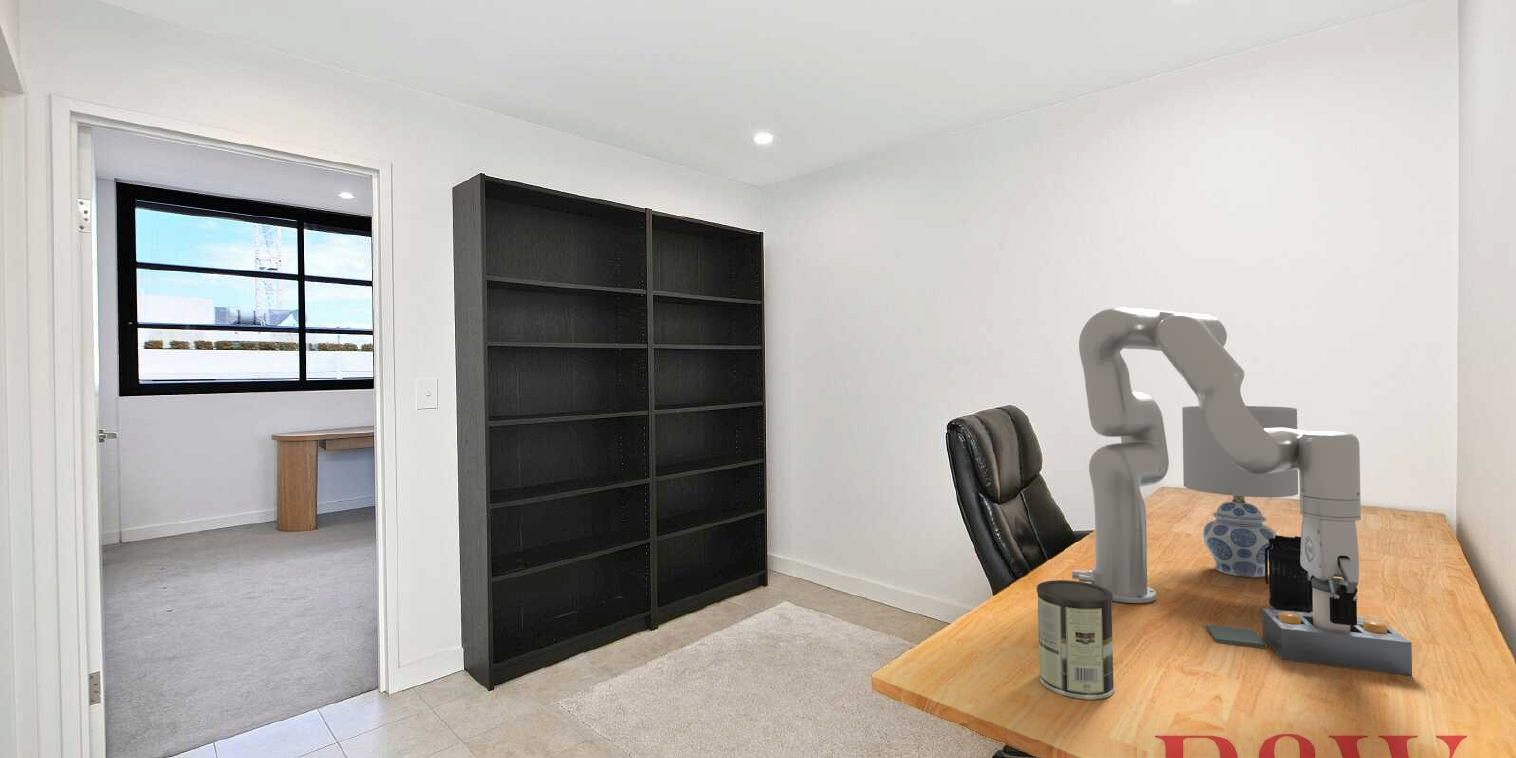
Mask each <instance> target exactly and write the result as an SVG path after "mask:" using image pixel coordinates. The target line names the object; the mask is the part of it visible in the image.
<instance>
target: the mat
mask: <svg viewBox="0 0 1516 758" xmlns="http://www.w3.org/2000/svg"><path fill="white" fill-rule="evenodd" d="M1205 627H1206V630H1207V631H1208V633H1209V634H1210V636H1211V637H1212V639H1213V640H1214V642H1215V643H1221V644H1229V645H1236V646H1237V645H1239V646H1245V647H1254V648H1261V649H1262V648H1263V649H1266V643H1265V641H1263V639H1261V637H1260V636H1259V635H1258V634H1257V632H1256V631H1255V630H1254V629H1253V628H1252V629H1249V628H1241V627H1234V626H1233V627H1232V626H1222V625H1216V624H1214V625H1213V624H1206V626H1205Z"/></svg>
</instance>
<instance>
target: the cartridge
mask: <svg viewBox="0 0 1516 758" xmlns="http://www.w3.org/2000/svg"><path fill="white" fill-rule="evenodd" d="M1340 586H1341V585H1340V584H1337V588H1338V589H1339V588H1340ZM1312 587H1313V612H1312V613H1313V626H1314V627H1315V628H1318V629H1327V630H1337V631H1346V632H1350V625H1342V624H1334V623H1332V622H1331V621H1330V598H1329V597H1333V596H1332V592H1331V588H1330V584H1329V580H1328V579H1326V581H1321V580H1319V579H1317V578H1316V577H1314V578H1312Z"/></svg>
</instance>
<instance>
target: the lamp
mask: <svg viewBox="0 0 1516 758" xmlns="http://www.w3.org/2000/svg"><path fill="white" fill-rule="evenodd" d="M1245 406H1246V407H1247V409H1248V410H1249V412H1250V413H1251V414H1252V415H1253V417H1254V418H1255V419H1256V420H1257V421H1258V423H1259V424H1260V425H1261V426H1262V427H1263V428H1264V429H1265V428H1290V429H1296V430H1298V408H1296V407H1286V406H1284V407H1283V406H1265V405H1263V406H1262V405H1261V406H1259V405H1257V406H1256V405H1245ZM1181 410H1182V462H1183V463H1182V464H1183V465H1182V468H1183V469H1182V470H1183V472H1182V473H1183V476H1182V477H1183V487H1185V488H1187V489H1189V490H1193V491H1198V492H1201V493H1206V494H1207V493H1208V494H1216V495H1223V496H1232V497H1233V498H1232V500H1231V501H1226V502H1223V503H1221V504H1220V505H1219V506H1218V507H1217V510H1216V511H1215V512H1213V513H1212V515H1211V516H1212V517H1214V518H1215V519H1214V520H1211V521H1209V522H1208V523H1206V524H1205V526H1204V528H1203V530H1202V540H1203V542H1204V545H1205V546H1206V549H1207V550H1208V552H1209V553H1210V555H1211V556H1212V558H1213V559H1214V561H1215V562H1214V563H1215V565H1214V569H1215V570H1216V571H1218V572H1219V573H1222V574H1226V575H1228V576H1234V577H1240V578H1241V577H1242V578H1263V577H1265V548H1267V547H1268V546H1270V543H1269V538H1275V535H1277V533H1276V532H1275V531H1274V530H1273V529H1272V528H1271V527H1270V526H1267V525H1266V524H1264V523H1265V522H1267V521H1268V519H1267V517H1265V516H1263V514H1262V512H1261V511H1260V509H1259V508H1258V507H1257V506H1256V505H1254V504H1252V503H1249V502H1246V500H1245V497H1249V498H1250V497H1251V498H1286V497H1287V498H1288V497H1294V496H1297V495H1299V470H1288V471H1280V472H1272V473H1266V474H1254V473H1250V472H1247V471H1245V470H1243V469H1241V468H1239V467H1238V466H1237V465H1236V464H1234V463H1233V462H1232V461H1231V460H1230V459H1229V458H1228V456H1227V455H1226V454H1225V453H1224V452H1223V450H1222V449H1221V448H1220V446H1219V445H1218V444H1217V443H1216V441H1215V440H1214V439H1213V437H1212V436H1211V434H1210V433H1209V431H1208V430H1207V428H1206V426H1205V424H1204V421H1203V418H1202V415H1201V412H1200V409H1199V405H1191V406H1182V408H1181ZM1272 548H1273V545H1272ZM1272 548H1271V549H1272ZM1268 563H1269V550H1268Z"/></svg>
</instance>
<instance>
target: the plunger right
mask: <svg viewBox="0 0 1516 758" xmlns="http://www.w3.org/2000/svg"><path fill="white" fill-rule="evenodd" d="M1384 623H1385V622H1383V623H1381V622H1378V621H1372V620H1364V621H1363V629H1364V630H1365V631H1370V632H1379V633H1387V625H1388V624H1386V623H1385V624H1384Z"/></svg>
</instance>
